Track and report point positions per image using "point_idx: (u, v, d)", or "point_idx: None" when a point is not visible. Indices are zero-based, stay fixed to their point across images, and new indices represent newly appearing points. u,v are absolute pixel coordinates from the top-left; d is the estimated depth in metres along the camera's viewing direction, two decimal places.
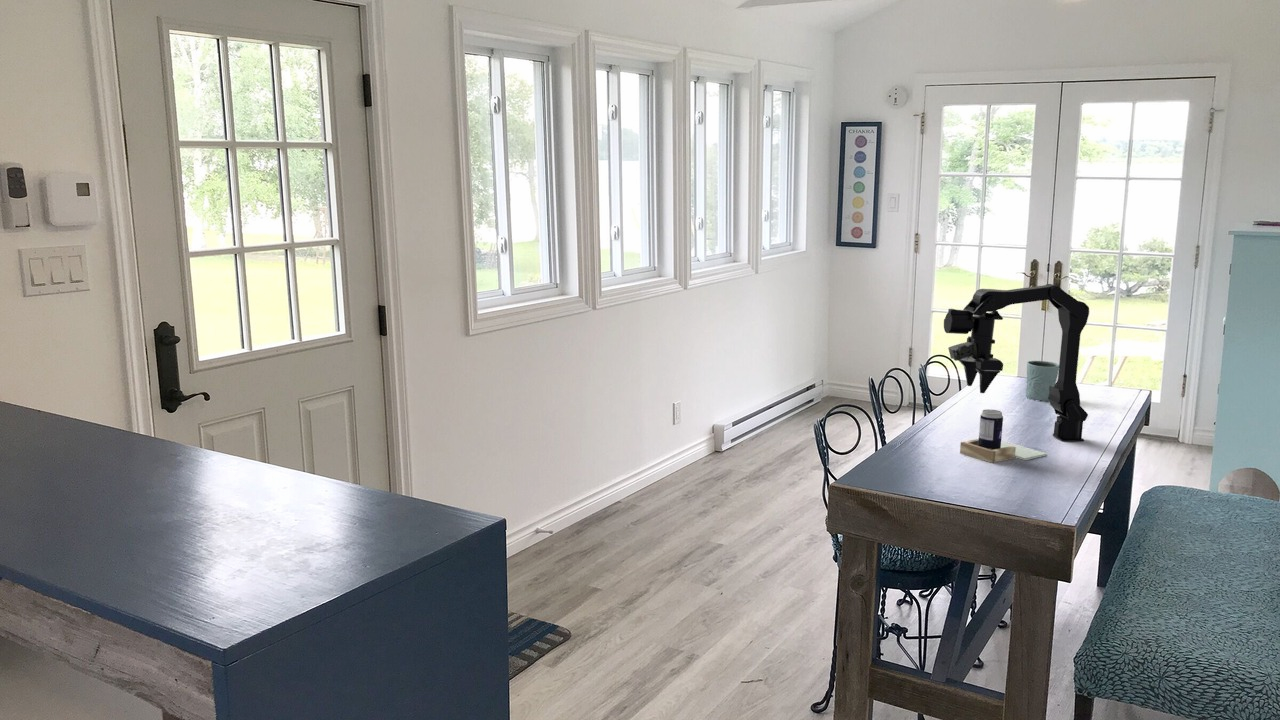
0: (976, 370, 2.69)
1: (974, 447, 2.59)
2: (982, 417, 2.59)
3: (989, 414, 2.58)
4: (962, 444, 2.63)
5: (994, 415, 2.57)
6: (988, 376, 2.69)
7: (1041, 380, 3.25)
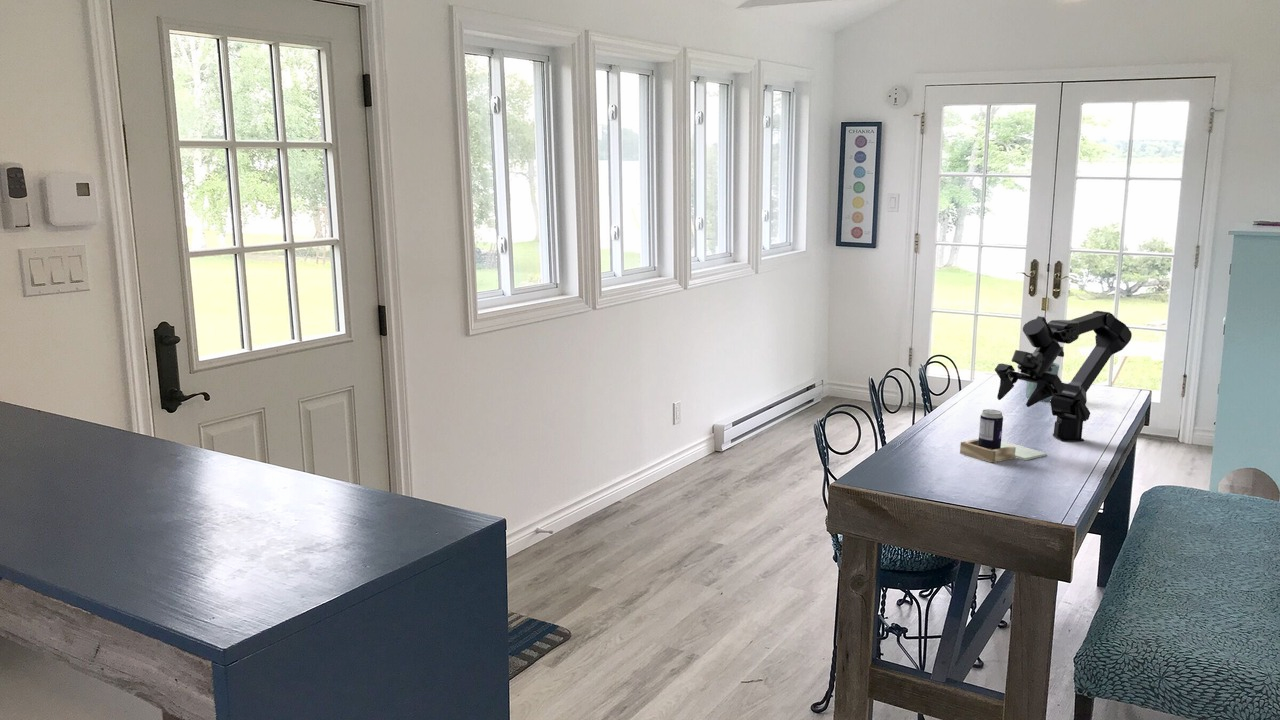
0: (1037, 381, 2.60)
1: (974, 447, 2.59)
2: (982, 417, 2.59)
3: (989, 414, 2.58)
4: (962, 444, 2.63)
5: (994, 415, 2.57)
6: (1041, 394, 2.60)
7: None
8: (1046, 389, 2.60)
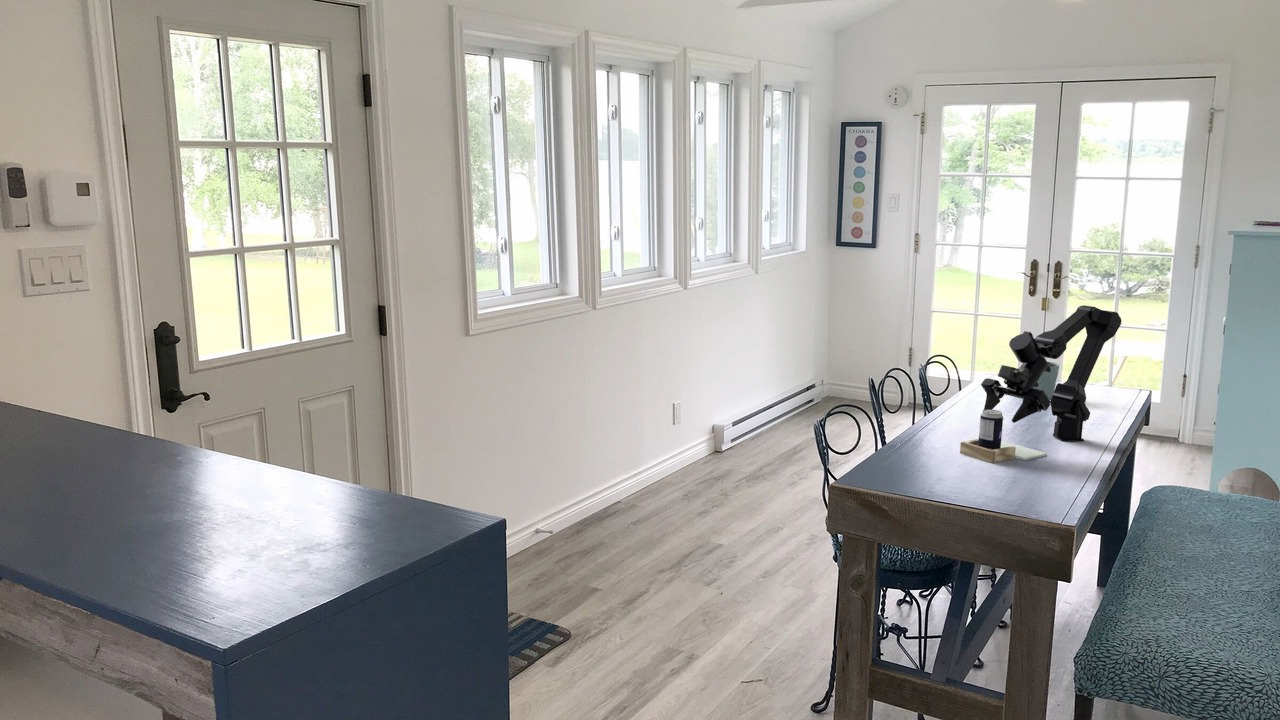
0: (1023, 397, 2.57)
1: (974, 447, 2.59)
2: (982, 417, 2.59)
3: (989, 414, 2.58)
4: (962, 444, 2.63)
5: (994, 415, 2.57)
6: (1027, 409, 2.58)
7: (1041, 380, 3.25)
8: (1032, 405, 2.58)
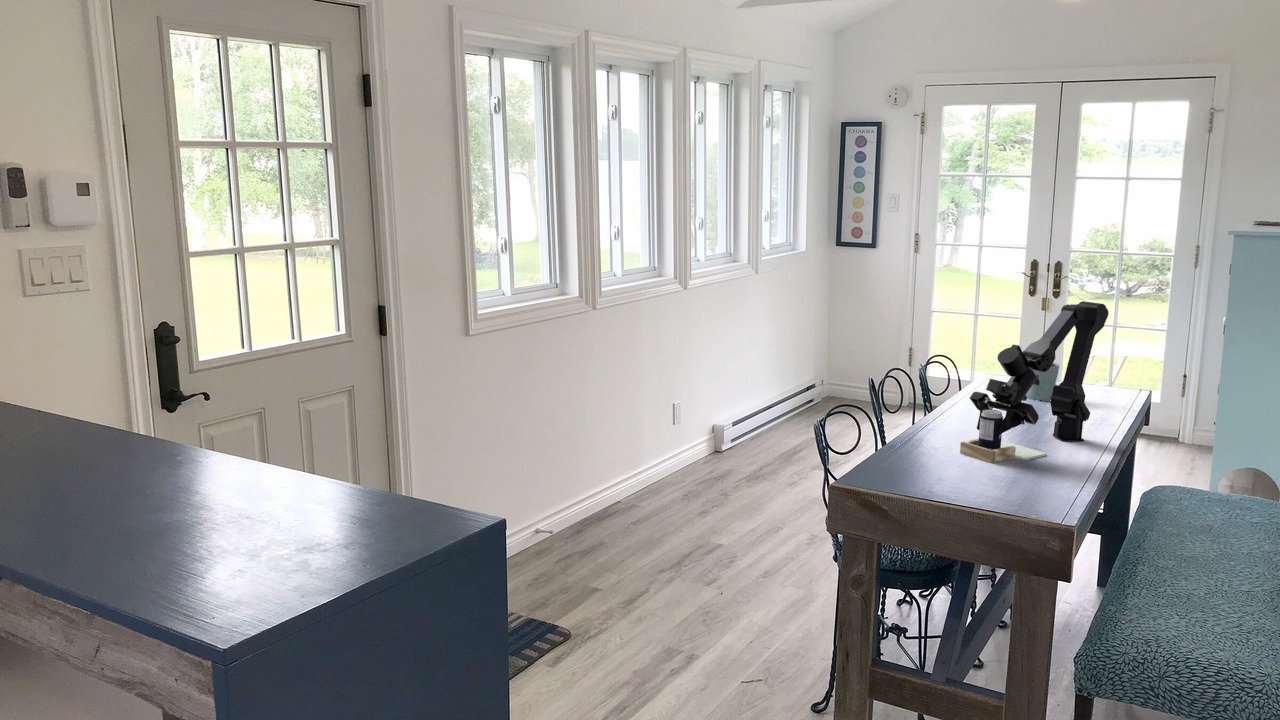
0: (1006, 410, 2.57)
1: (974, 447, 2.59)
2: (982, 417, 2.59)
3: (989, 414, 2.58)
4: (962, 444, 2.63)
5: (994, 415, 2.57)
6: (1011, 422, 2.58)
7: (1041, 380, 3.25)
8: (1015, 417, 2.58)
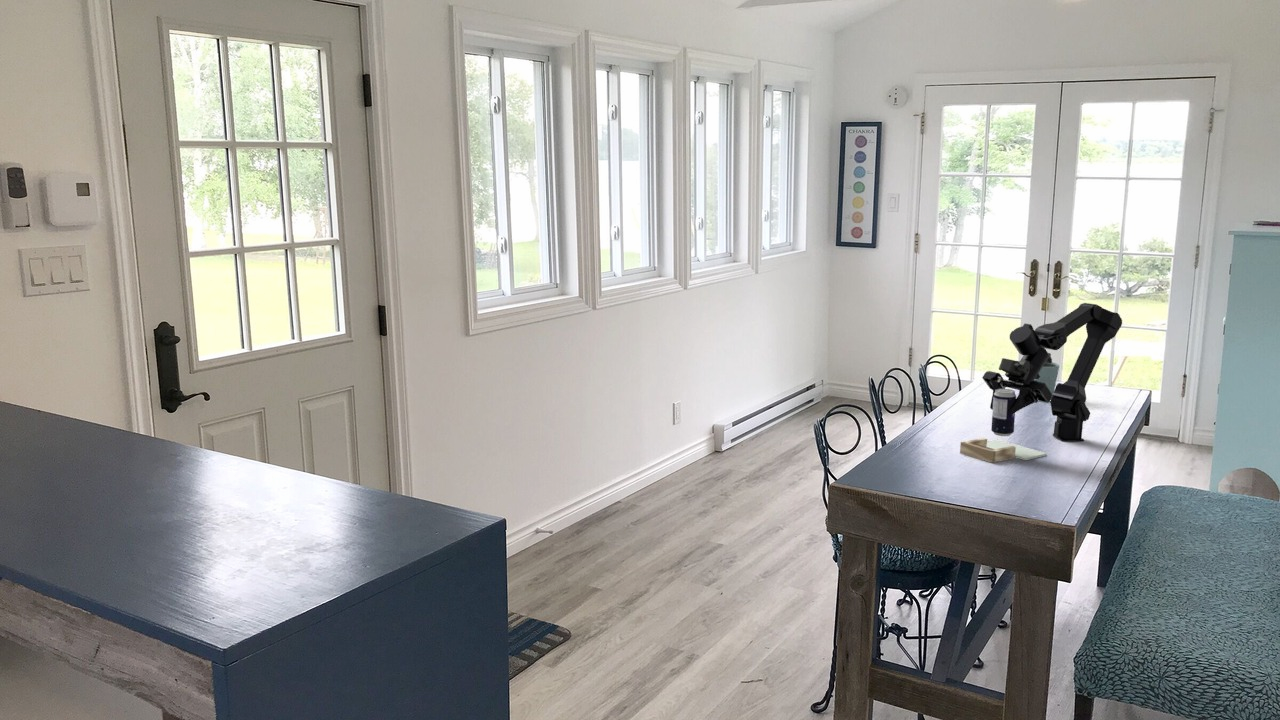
0: (1020, 389, 2.59)
1: (974, 447, 2.59)
2: (995, 396, 2.61)
3: (1002, 393, 2.59)
4: (962, 444, 2.63)
5: (1007, 394, 2.59)
6: (1024, 401, 2.60)
7: (1041, 380, 3.25)
8: (1028, 396, 2.59)
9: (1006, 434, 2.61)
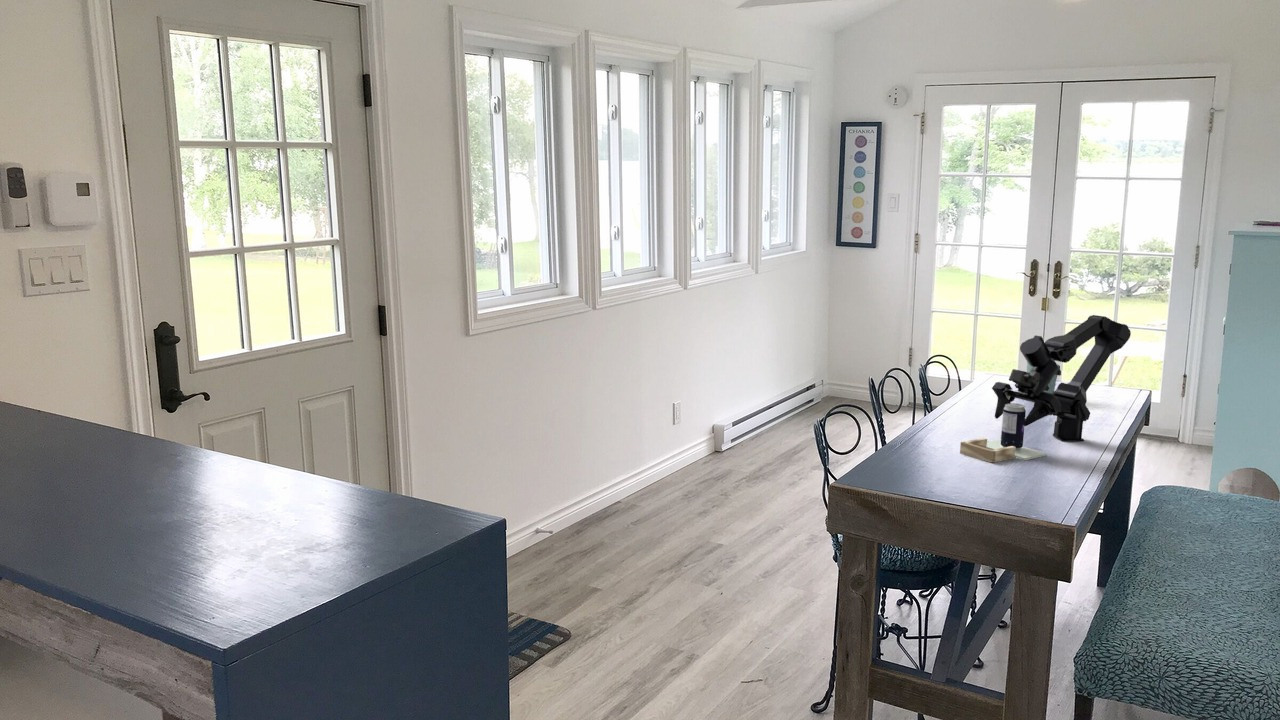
0: (1034, 401, 2.60)
1: (974, 447, 2.59)
2: (1005, 411, 2.64)
3: (1012, 408, 2.63)
4: (962, 444, 2.63)
5: (1017, 409, 2.62)
6: (1038, 413, 2.61)
7: None
8: (1043, 408, 2.61)
9: None
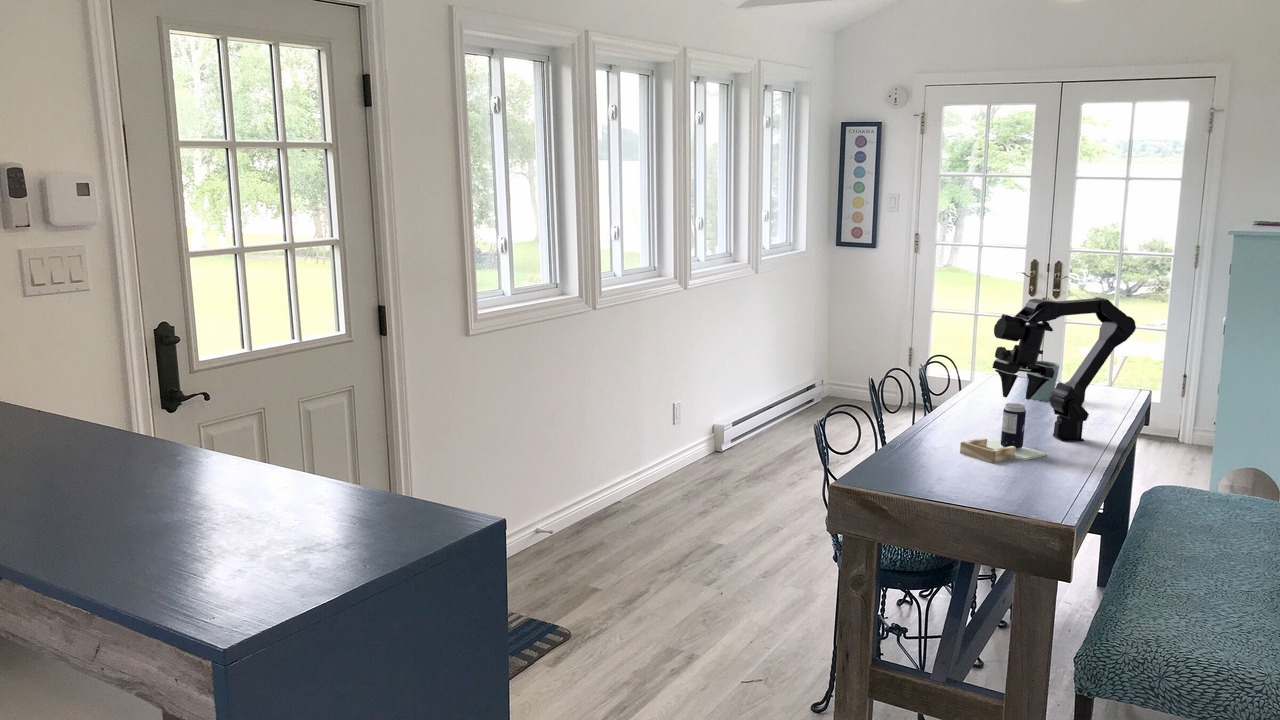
0: None
1: (974, 447, 2.59)
2: (1005, 411, 2.64)
3: (1012, 408, 2.63)
4: (962, 444, 2.63)
5: (1017, 409, 2.62)
6: (1008, 380, 2.71)
7: None
8: None
9: None
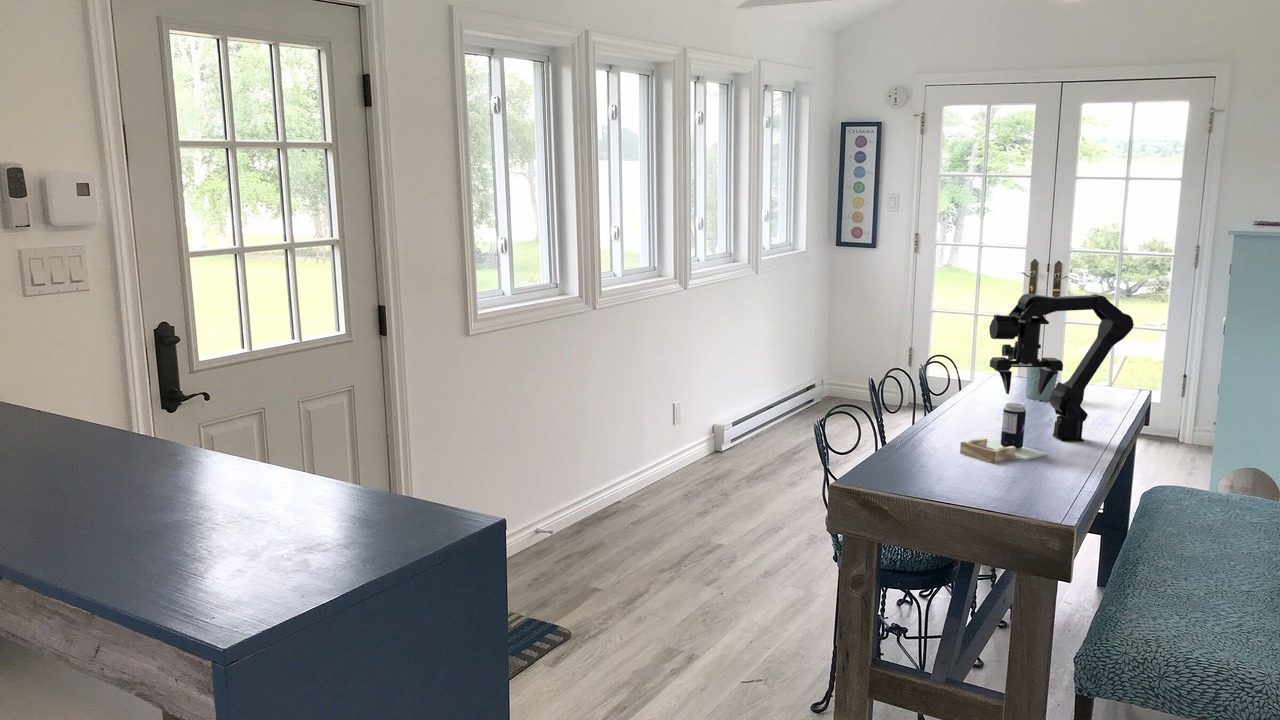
0: None
1: (974, 447, 2.59)
2: (1005, 411, 2.64)
3: (1012, 408, 2.63)
4: (962, 444, 2.63)
5: (1017, 409, 2.62)
6: None
7: None
8: None
9: None
